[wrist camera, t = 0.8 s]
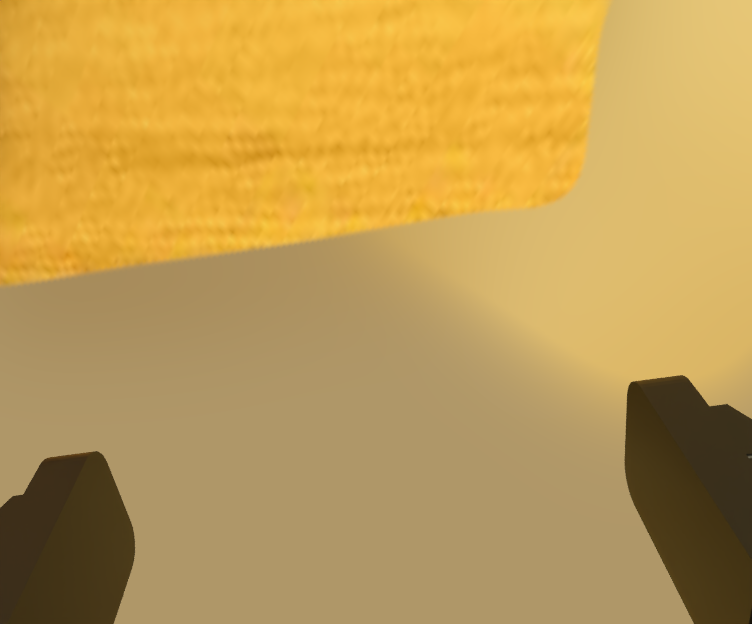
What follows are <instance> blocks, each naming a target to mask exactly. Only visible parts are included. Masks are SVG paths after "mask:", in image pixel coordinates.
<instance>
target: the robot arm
mask: <svg viewBox="0 0 752 624" xmlns="http://www.w3.org/2000/svg"><path fill="white" fill-rule="evenodd" d="M626 415H627V416H626V441H625V473H626V479H627V484H628V488H629V492H630V495H631V498H632V500H633V503H634V505H635V507H636V509H637V511H638V513H639V515H640V517H641V519H642V521H643V523H644V525H645V527H646V529H647V531H648V533H649V535H650V537H651V539H652V541H653V543H654V545H655V547H656V549H657V551H658V553H659V555H660V557H661V559H662V561H663V563H664V565H665V567H666V569H667V571H668V573H669V575H670V577H671V579H672V581H673V583H674V585H675V587H676V589H677V591H678V593H679V595H680V596H681V599H682V600H683V603H684V604H685V607H686V609H687V611H688V613H689V615H690V616H691V618H692V620H693V622H694V624H752V419H751V418H749V417H747V416H746V415H744V414H742V413H741V412H739V411H737V410H736V409H734V408H733V407H731V406H729V405H728V404H726V405H717V406H709V405H708V404H707V403H706V401H705V400H704V399H703V398H702V396H701V395H700V393H699V392H698V391H697V390H696V388H695V387H694V386H693V385H692V383H691V382H690V381H689V379H688V378H687V377H685V376H683V375H680V376H672V377H665V378H657V379H650V380H642V381H635V382H631V383H630V385H629V388H628V393H627V414H626ZM134 555H135V539H134V532H133V527H132V524H131V521H130V519H129V516H128V514H127V511H126V509H125V506H124V504H123V501H122V499H121V496H120V494H119V491H118V489H117V486H116V484H115V481H114V479H113V476H112V474H111V471H110V469H109V466H108V463H107V461H106V459H105V458H104V456H103V455H102V454H101V453H99V452H97V451H96V452H88V453H80V454H72V455H65V456H58V457H50V458H47V459H45V460H44V461H43V462H42V463H41V464H40V466H39V468H38V470H37V471H36V473H35V475H34V477H33V478H32V480H31V482H30V484H29V485H28V487H27V489H26V491H25V493H24V494H23V495H18V496H13V497H12V498H10V499H9V500H8V501H7V502H6V503H5V504H4V505H3V506H2V507H1V508H0V624H113V623H114V621H115V618H116V615H117V612H118V609H119V606H120V603H121V600H122V597H123V593H124V591H125V587H126V585H127V581H128V579H129V576H130V572H131V569H132V566H133V561H134Z"/></svg>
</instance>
